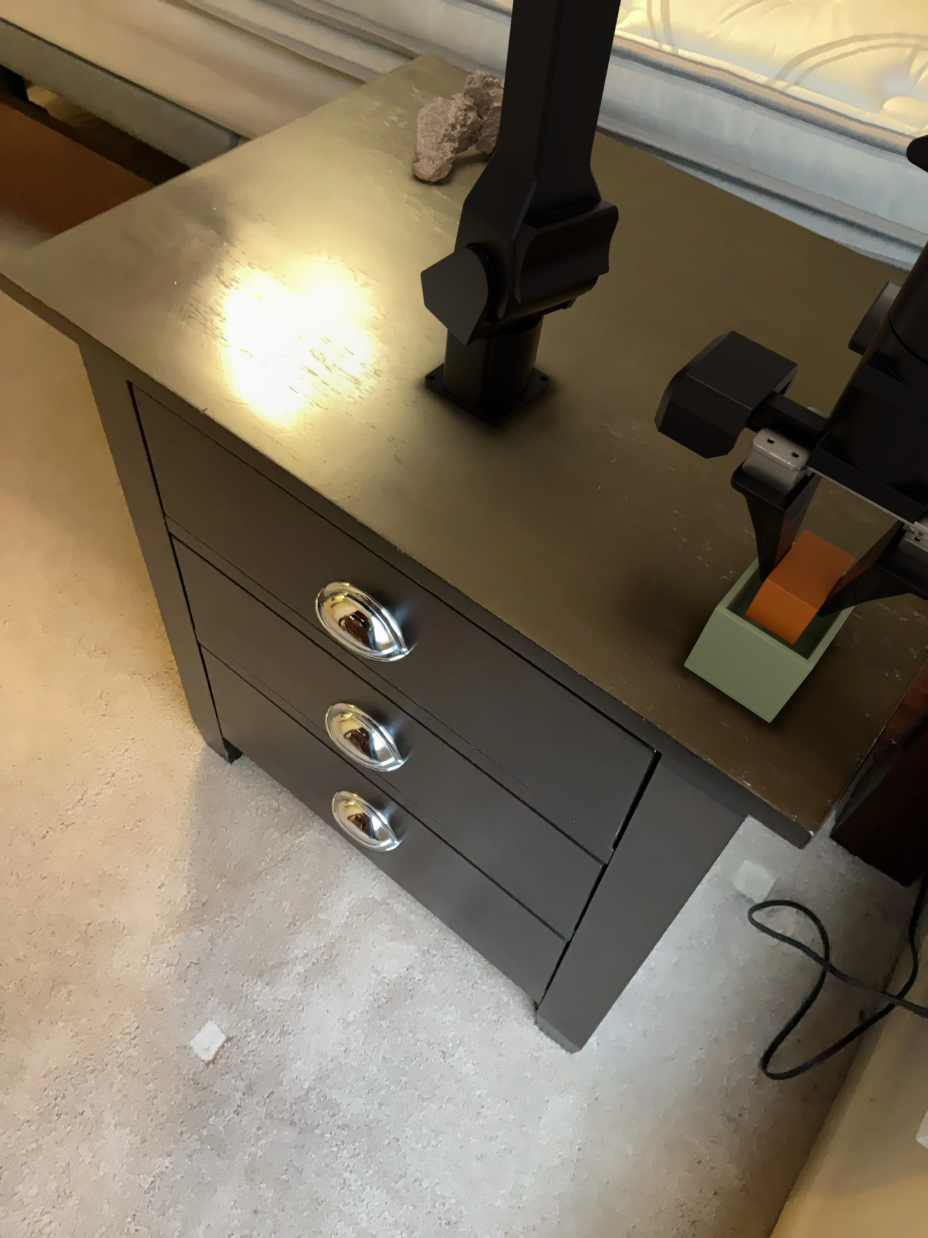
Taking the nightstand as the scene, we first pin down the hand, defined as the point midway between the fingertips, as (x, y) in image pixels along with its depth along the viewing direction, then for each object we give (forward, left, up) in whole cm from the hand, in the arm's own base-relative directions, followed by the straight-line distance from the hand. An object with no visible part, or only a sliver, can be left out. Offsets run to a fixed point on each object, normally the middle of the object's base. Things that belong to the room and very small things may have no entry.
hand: (794, 593), depth 44 cm
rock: (+31, +44, -6) cm, 54 cm away
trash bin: (0, 0, -6) cm, 6 cm away
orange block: (0, 0, -1) cm, 1 cm away
